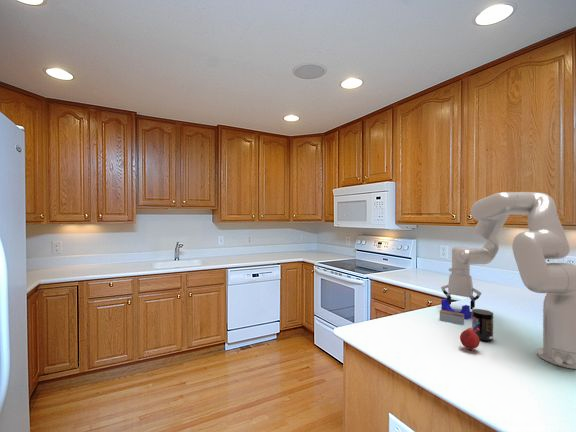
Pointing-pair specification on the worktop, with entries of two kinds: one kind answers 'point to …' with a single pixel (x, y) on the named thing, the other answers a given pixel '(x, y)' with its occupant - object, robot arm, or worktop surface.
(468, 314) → the cable clip
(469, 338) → the onion
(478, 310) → the supplement container
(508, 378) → the worktop surface
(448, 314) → the end stop block
